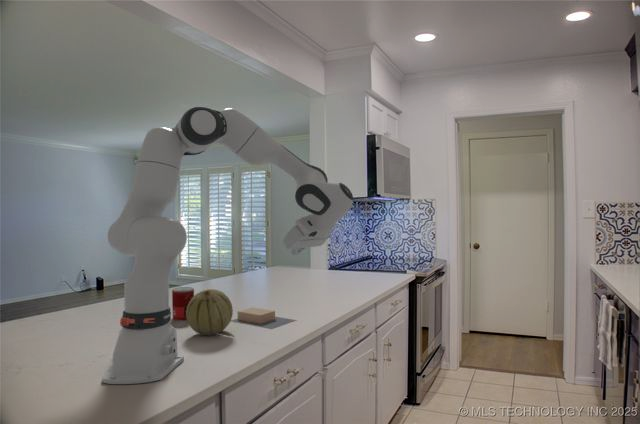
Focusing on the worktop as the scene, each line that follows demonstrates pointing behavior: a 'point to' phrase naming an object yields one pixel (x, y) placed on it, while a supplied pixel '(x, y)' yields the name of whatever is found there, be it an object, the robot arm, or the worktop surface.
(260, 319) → the block
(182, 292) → the canned food
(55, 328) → the worktop surface
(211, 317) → the cantaloupe
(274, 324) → the mat
